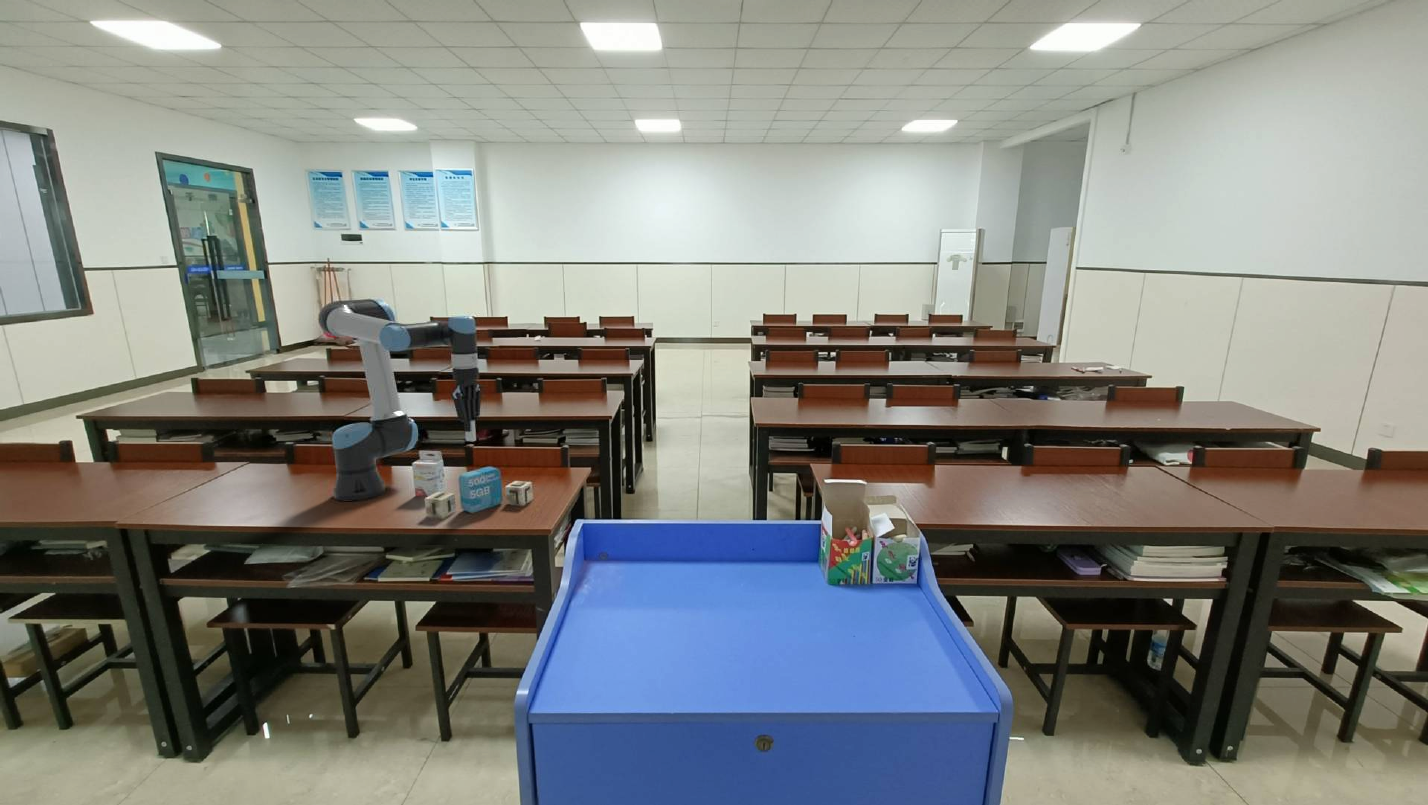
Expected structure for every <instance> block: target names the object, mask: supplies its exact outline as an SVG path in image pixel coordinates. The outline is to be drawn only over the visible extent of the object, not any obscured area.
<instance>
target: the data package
mask: <svg viewBox="0 0 1428 805" xmlns="http://www.w3.org/2000/svg"><path fill="white" fill-rule="evenodd" d="M501 474H502V473H501V471H500V469H498V468H496V467H493V466H486V467H481V468H479V469H478V468H477V469H474V470H471V471H468V472H463V473H461V474H460V475H459V476H458V487H459V498H460V507H461V508H460V509H462V510H463V511H465V512H468V513H470V514H475V513H477V512H480V511H483V510H487V509H491V508H493V507H496V506H498V505H500V504H501V503H502V502H503V500H504V499H503V496H504V495H503V487H502V484H503V483H502V476H501ZM486 508H487V509H486Z"/></svg>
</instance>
